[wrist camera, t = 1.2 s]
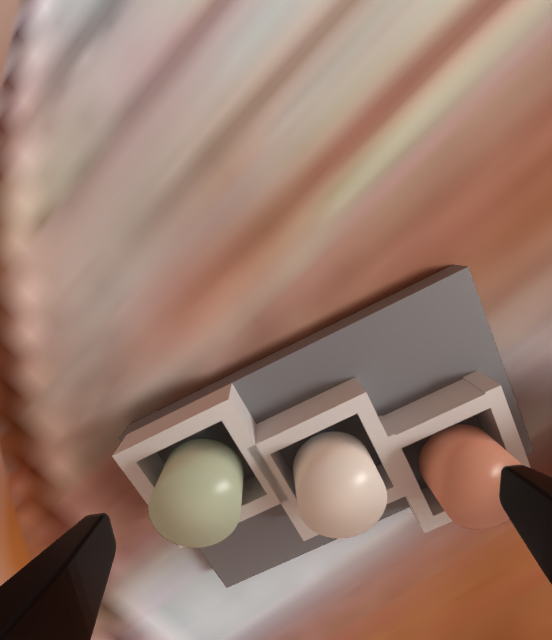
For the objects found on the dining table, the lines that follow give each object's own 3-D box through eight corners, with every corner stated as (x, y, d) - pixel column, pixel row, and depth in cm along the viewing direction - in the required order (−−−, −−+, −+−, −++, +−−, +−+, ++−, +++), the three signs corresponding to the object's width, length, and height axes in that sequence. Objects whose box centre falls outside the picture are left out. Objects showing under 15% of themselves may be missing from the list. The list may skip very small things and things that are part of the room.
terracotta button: (504, 472, 19) (540, 507, 17) (433, 503, 20) (459, 541, 17) (480, 411, 18) (515, 439, 16) (407, 445, 19) (429, 477, 16)
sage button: (257, 486, 19) (256, 525, 16) (189, 518, 19) (179, 560, 17) (219, 425, 18) (212, 456, 15) (148, 459, 18) (130, 495, 16)
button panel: (516, 438, 22) (561, 473, 19) (228, 566, 24) (223, 620, 21) (452, 264, 19) (493, 270, 16) (129, 424, 21) (103, 460, 18)
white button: (382, 479, 19) (400, 516, 17) (313, 510, 19) (320, 551, 17) (351, 418, 18) (366, 447, 16) (279, 452, 18) (282, 486, 16)
